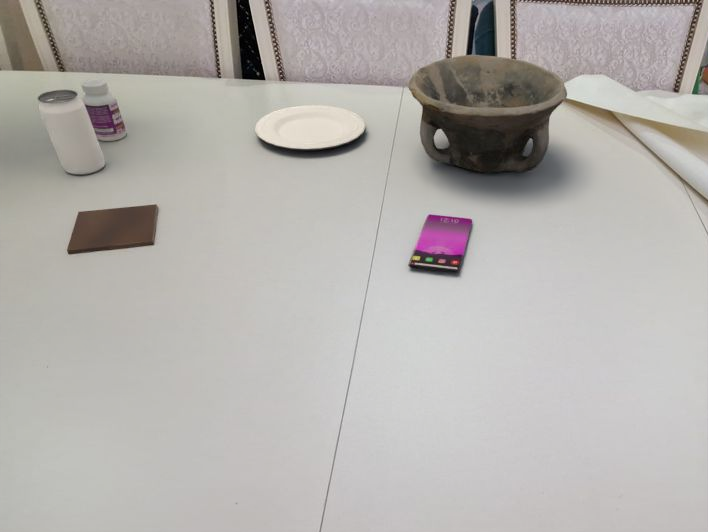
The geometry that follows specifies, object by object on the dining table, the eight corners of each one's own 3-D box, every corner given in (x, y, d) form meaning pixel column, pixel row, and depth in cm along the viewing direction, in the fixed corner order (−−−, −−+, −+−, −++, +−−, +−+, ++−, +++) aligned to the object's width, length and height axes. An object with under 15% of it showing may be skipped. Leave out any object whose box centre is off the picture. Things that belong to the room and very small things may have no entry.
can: (65, 161, 106) (36, 90, 98) (107, 157, 108) (82, 87, 100) (62, 178, 102) (31, 105, 94) (105, 173, 103) (79, 101, 95)
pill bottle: (127, 140, 113) (109, 86, 107) (95, 143, 112) (75, 89, 105) (127, 129, 117) (110, 76, 111) (96, 131, 115) (77, 78, 109)
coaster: (68, 254, 86) (66, 250, 85) (79, 215, 93) (78, 211, 93) (153, 244, 88) (152, 241, 88) (157, 207, 96) (156, 204, 96)
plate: (347, 163, 111) (347, 153, 109) (237, 150, 112) (235, 140, 111) (378, 120, 126) (377, 110, 125) (280, 109, 128) (279, 100, 127)
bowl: (407, 194, 103) (405, 104, 93) (412, 130, 123) (411, 50, 113) (564, 198, 105) (579, 110, 95) (544, 135, 125) (555, 56, 115)
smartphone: (407, 269, 87) (407, 264, 86) (427, 217, 98) (427, 212, 97) (458, 276, 86) (458, 270, 85) (472, 222, 97) (472, 217, 97)
